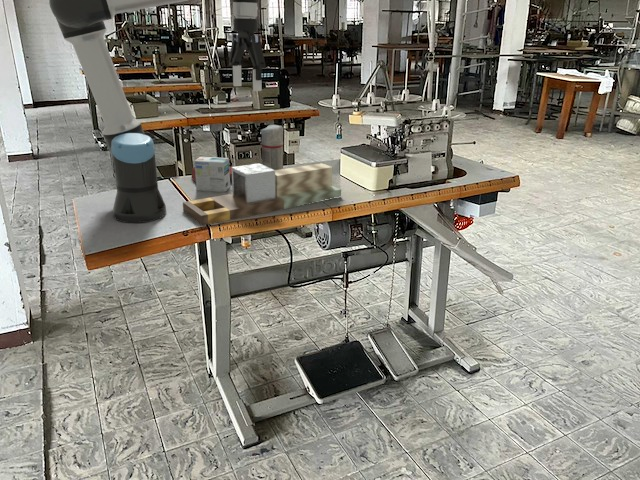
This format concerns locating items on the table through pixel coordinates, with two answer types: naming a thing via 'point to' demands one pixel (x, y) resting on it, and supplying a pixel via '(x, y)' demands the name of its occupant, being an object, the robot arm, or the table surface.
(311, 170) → the maple beam
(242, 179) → the matte grey cube
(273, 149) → the spray can
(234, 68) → the robot arm
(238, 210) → the deck
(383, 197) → the table surface
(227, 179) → the light bulb box
